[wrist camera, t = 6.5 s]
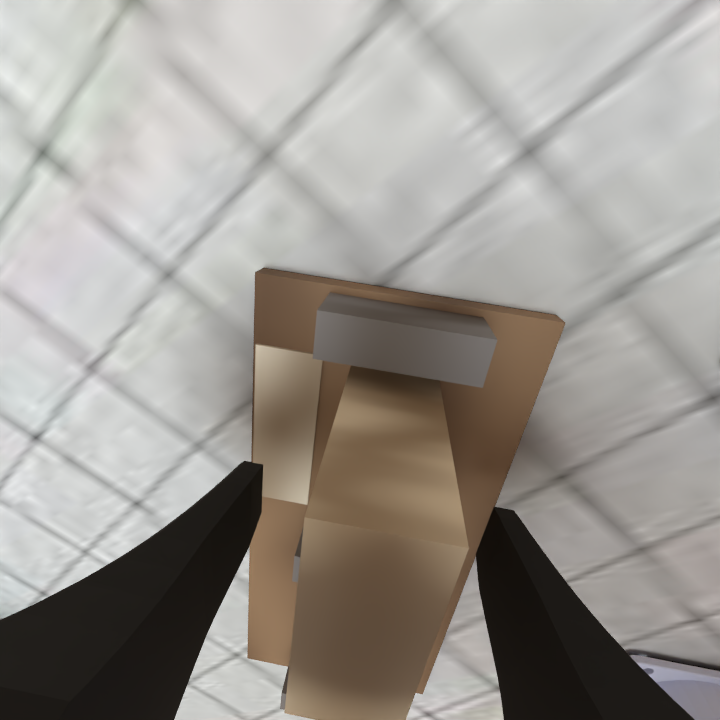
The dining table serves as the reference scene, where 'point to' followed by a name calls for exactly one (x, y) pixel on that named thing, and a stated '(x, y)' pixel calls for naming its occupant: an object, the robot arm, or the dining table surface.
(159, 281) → the dining table surface
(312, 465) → the brown board with blocks
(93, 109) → the dining table surface
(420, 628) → the tall tan box
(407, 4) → the dining table surface
